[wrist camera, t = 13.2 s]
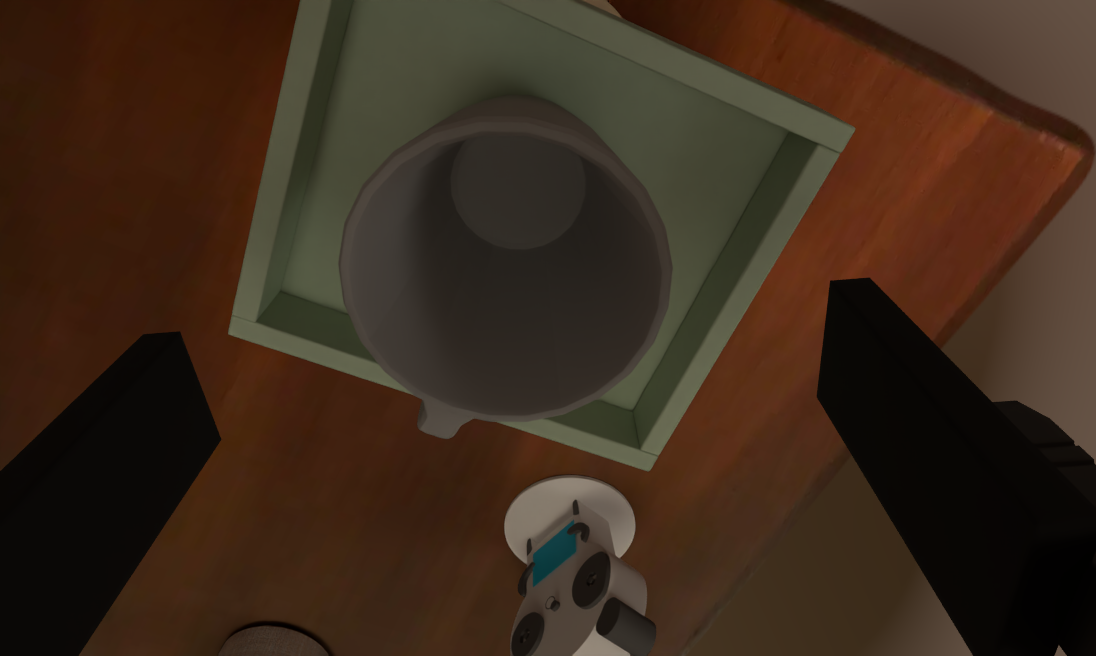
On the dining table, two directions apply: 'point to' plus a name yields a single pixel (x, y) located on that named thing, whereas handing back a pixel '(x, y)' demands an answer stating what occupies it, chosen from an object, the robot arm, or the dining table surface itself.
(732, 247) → the tray
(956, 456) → the robot arm
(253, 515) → the dining table surface
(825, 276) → the dining table surface
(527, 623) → the panda figurine
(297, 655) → the planter
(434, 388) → the cup
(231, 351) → the dining table surface
